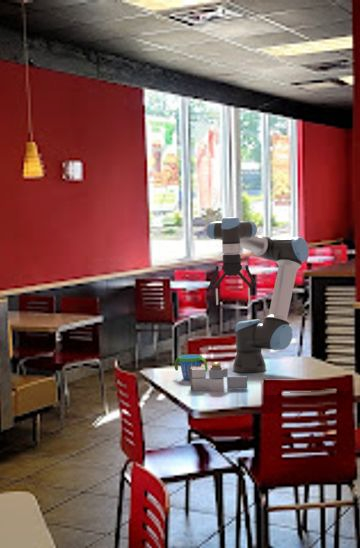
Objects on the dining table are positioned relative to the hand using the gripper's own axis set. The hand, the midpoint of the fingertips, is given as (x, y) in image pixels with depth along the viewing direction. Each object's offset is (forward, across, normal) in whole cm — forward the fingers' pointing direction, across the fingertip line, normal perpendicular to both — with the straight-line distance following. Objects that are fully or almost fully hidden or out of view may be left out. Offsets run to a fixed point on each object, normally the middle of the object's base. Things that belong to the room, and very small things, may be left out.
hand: (233, 304), depth 350 cm
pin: (+34, -8, -10) cm, 37 cm away
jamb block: (+34, -16, -7) cm, 39 cm away
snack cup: (+35, -20, +14) cm, 42 cm away
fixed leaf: (+34, -12, -10) cm, 38 cm away
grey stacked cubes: (+34, -3, -10) cm, 36 cm away
